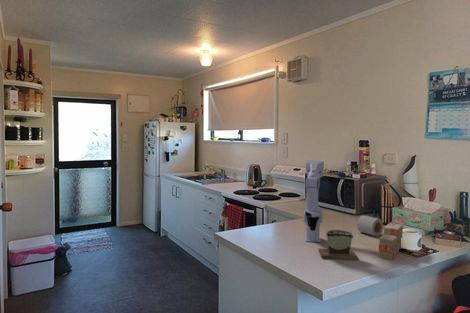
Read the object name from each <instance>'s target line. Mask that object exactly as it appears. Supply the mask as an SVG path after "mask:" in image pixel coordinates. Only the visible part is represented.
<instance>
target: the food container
mask: <svg viewBox="0 0 470 313" xmlns="http://www.w3.org/2000/svg"><path fill="white" fill-rule="evenodd" d="M325 237H326V239H327V249H328V252H329V254H338V255H349V254H350V250H351V245H352V241H353V240H352V239H353V238H354V235H353V233H352V232H351V231H347V230H344V229H343V230H342V229H330V230H327V232H326V235H325Z"/></svg>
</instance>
